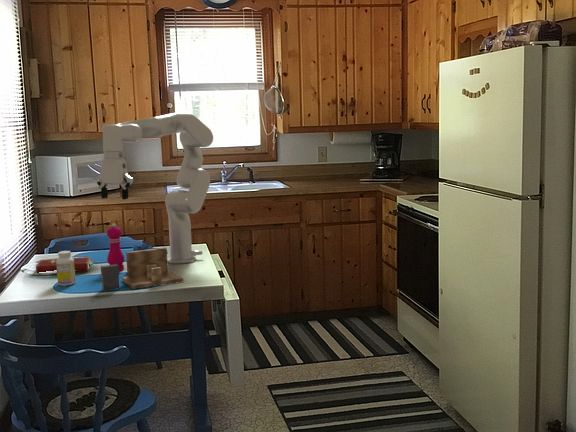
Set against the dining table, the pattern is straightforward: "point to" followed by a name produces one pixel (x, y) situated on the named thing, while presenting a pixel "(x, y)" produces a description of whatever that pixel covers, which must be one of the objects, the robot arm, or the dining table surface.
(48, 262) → the hardcover book
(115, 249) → the pepper mill
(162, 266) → the wooden desk organizer
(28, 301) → the dining table surface
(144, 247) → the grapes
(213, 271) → the dining table surface
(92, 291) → the dining table surface
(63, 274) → the supplement bottle
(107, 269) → the bracket
